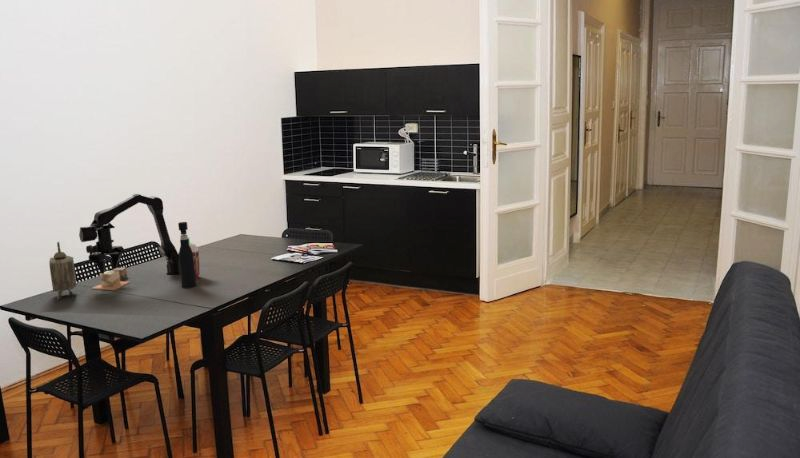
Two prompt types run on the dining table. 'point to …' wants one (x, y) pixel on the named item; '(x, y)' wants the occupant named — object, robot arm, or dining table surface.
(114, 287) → the terracotta tile
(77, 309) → the dining table surface
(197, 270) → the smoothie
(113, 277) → the maple block
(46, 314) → the dining table surface
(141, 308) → the dining table surface
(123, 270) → the walnut block
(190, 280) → the wine bottle
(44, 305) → the dining table surface
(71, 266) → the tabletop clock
